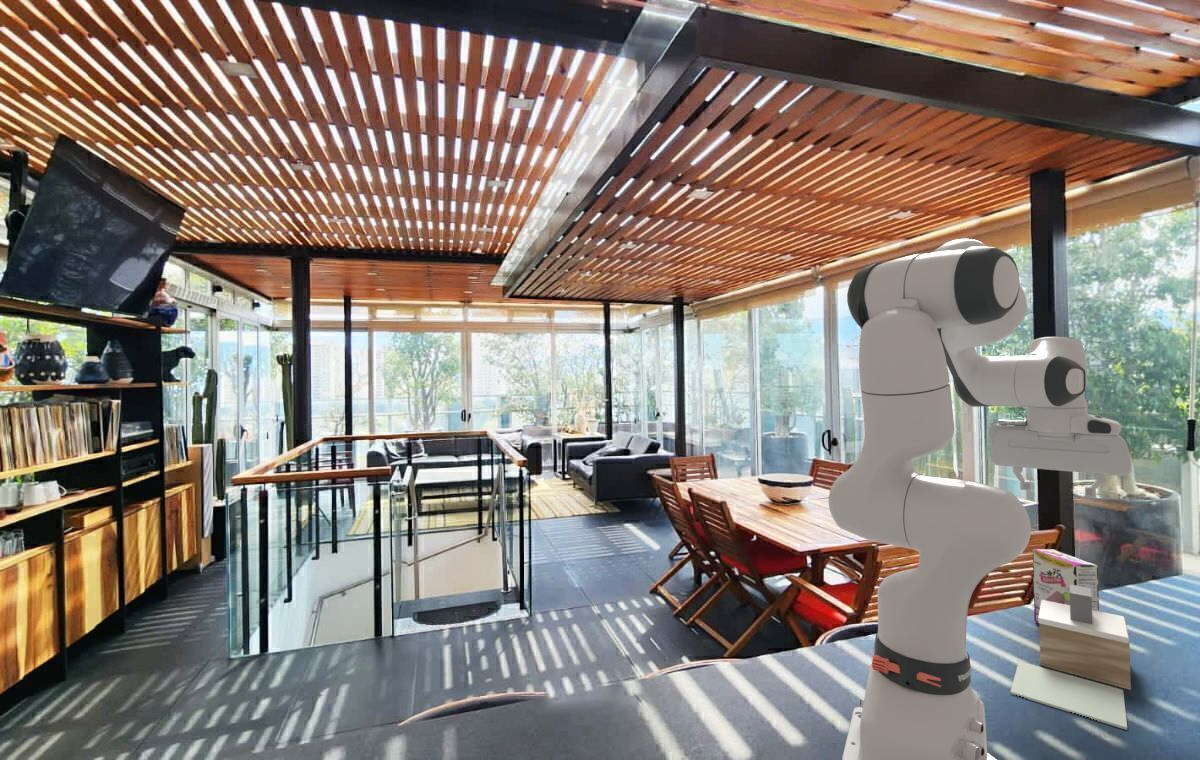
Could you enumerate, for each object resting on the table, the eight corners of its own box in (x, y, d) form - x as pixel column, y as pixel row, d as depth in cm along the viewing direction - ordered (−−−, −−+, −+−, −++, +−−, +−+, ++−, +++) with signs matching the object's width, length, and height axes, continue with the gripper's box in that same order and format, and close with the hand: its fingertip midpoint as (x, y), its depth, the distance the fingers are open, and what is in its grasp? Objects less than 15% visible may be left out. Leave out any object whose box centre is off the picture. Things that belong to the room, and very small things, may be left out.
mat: (1127, 730, 79) (1127, 727, 79) (1010, 693, 89) (1010, 691, 89) (1123, 692, 89) (1123, 689, 89) (1018, 663, 99) (1018, 661, 99)
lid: (1128, 652, 90) (1127, 608, 91) (1038, 631, 98) (1037, 591, 99) (1124, 629, 99) (1123, 589, 99) (1041, 611, 107) (1040, 575, 108)
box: (1130, 690, 90) (1129, 644, 90) (1040, 666, 98) (1039, 623, 98) (1127, 664, 99) (1126, 622, 99) (1044, 644, 107) (1043, 604, 107)
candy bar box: (1032, 621, 117) (1030, 548, 118) (1054, 622, 117) (1053, 548, 117) (1076, 645, 106) (1074, 564, 106) (1101, 646, 106) (1099, 564, 106)
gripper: (987, 420, 105) (987, 488, 105) (1132, 426, 91) (1132, 504, 91) (991, 417, 109) (991, 483, 110) (1129, 422, 95) (1130, 497, 96)
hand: (1056, 493), depth 100 cm, fingers open, 8 cm apart
